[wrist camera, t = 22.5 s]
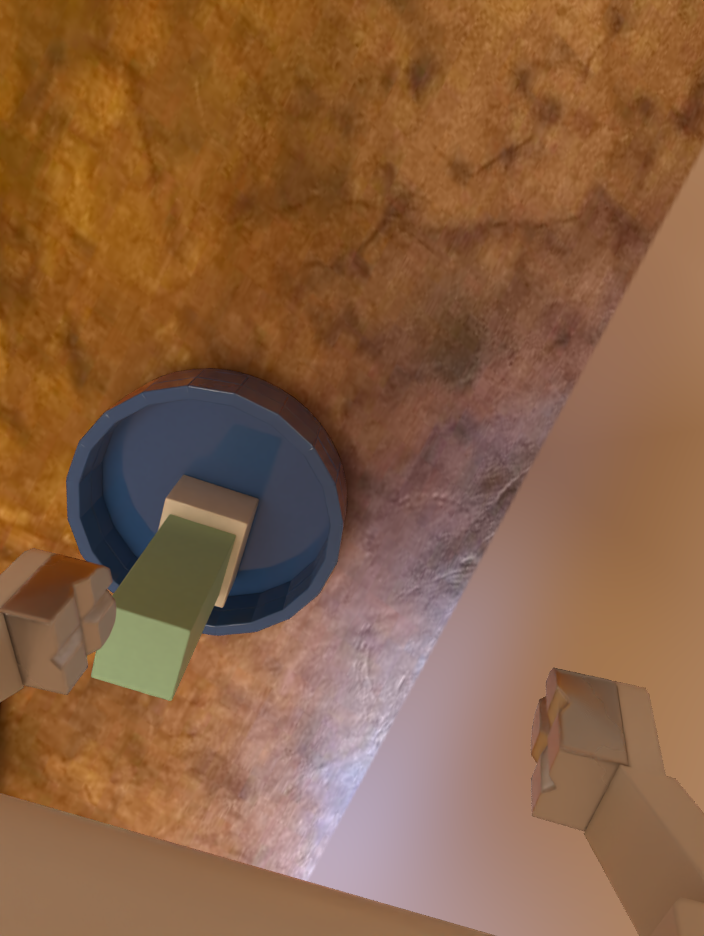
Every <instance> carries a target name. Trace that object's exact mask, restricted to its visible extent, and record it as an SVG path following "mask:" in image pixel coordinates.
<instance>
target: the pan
mask: <svg viewBox="0 0 704 936" xmlns="http://www.w3.org/2000/svg"><path fill="white" fill-rule="evenodd" d="M183 475H186V476H189V477H192V478H196V479H199V480H202V481H205V482H208V483H211V484H214V485H217V486H220V487H223V488H226V489H230V490H233V491H236V492H239V493H242V494H245V495H248V496H251V497H254V498H257V499H259V502H258V505H257V509H256V512H255V515H254V519H253V522H252V525H251V529H250V532H249V535H248V539H247V542H246V545H245V549H244V552H243V555H242V559H241V562H240V565H239V569H238V572H237V575H236V579H235V581H234V583H233V586H232V588H231V590H230V593H229V595H228V597H227V600H226V602H225V604H224V607H223V608H221V607H217V606H214V607H213V610H212V612H211V614H210V616H209V619H208V621H207V623H206V625H205V627H204V630H203V632H202V634H208V635H214V636H216V635H217V636H220V635H231V634H242V633H252V632H257V631H260V630H262V629H265V628H267V627H270V626H272V625H275V624H277V623H280V622H282V621H285V620H287V619H290V617H292V616H294V615H295V614H296V613H297V612H298V611H300V610H301V609H302V608H303V607H304V606H306V605H307V604H308V603H309V602H310V601H312V600H313V599H314V598H315V597H316V596H318V594H319V593H320V592H321V590H322V588H323V587H324V585H325V583H326V582H327V580H328V578H329V576H330V575H331V573H332V571H333V569H334V568H335V566H336V564H337V562H338V557H339V552H340V546H341V540H342V534H343V528H344V522H345V516H346V510H347V504H348V498H347V486H346V479H345V474H344V469H343V466H342V463H341V460H340V457H339V455H338V452H337V450H336V448H335V446H334V444H333V442H332V440H331V438H330V437H329V435H328V434H327V432H326V431H325V429H324V428H323V427H322V425H321V424H320V423H319V421H318V420H317V419H316V418H315V417H314V416H313V415H312V414H311V413H310V411H309V410H308V409H306V408H305V407H304V406H303V405H302V404H301V403H299V402H298V401H297V400H296V399H295V398H293V397H292V396H290V395H289V394H287V393H286V392H284V391H283V390H281V389H280V388H278V387H276V386H274V385H272V384H270V383H268V382H266V381H264V380H261V379H259V378H256V377H253V376H250V375H248V374H244V373H240V372H235V371H231V370H223V369H213V368H206V369H190V370H184V371H178V372H174V373H171V374H168V375H164V376H161V377H159V378H157V379H155V380H153V381H150V382H148V383H146V384H145V385H143V386H142V387H140V388H139V389H137V390H135V391H133V392H131V393H129V394H128V395H126V396H125V397H124V398H122V399H121V400H120V401H119V402H117V403H116V404H115V405H113V406H112V407H111V408H109V409H108V410H107V411H106V412H104V413H103V415H102V416H101V417H100V418H99V419H98V420H97V421H96V423H95V424H94V425H93V426H92V427H91V428H90V430H89V431H88V432H87V433H86V434H85V435H84V436H83V438H82V439H81V440H80V441H79V443H78V446H77V449H76V452H75V454H74V457H73V460H72V463H71V466H70V469H69V472H68V475H67V480H66V487H67V516H68V521H69V524H70V527H71V529H72V532H73V534H74V537H75V540H76V542H77V545H78V548H79V550H80V553H81V555H82V556H83V558H84V559H85V560H86V561H88V562H91V563H95V564H99V565H103V566H106V567H108V568H110V571H111V576H112V581H113V582H112V583H111V585H110V586H109V587H108V590H110V591H111V592H112V593H114V592H115V591H116V590H117V588H118V587H119V585H120V584H121V583H122V581H123V580H124V578H125V577H126V575H127V574H128V573H129V571H130V570H131V568H132V567H133V566H134V564H135V563H136V561H137V560H138V558H139V557H140V556H141V554H142V553H143V551H144V550H145V548H146V547H147V546H148V544H149V543H150V541H151V540H152V539H153V537H154V536H155V534H156V533H157V531H158V528H159V524H160V520H161V515H162V511H163V507H164V503H165V498H166V497H167V496H168V494H169V493H170V492H171V490H172V489H173V488H174V486H175V485H176V484H177V482H178V481H179V480H180V478H181V477H182V476H183Z"/></svg>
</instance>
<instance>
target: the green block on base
mask: <svg viewBox="0 0 704 936" xmlns="http://www.w3.org/2000/svg"><path fill="white" fill-rule="evenodd" d="M258 502H259V499H257V498H254V497H251V496H248V495H245V494H242V493H239V492H236V491H233V490H230V489H226V488H223V487H220V486H217V485H214V484H211V483H208V482H205V481H202V480H199V479H196V478H192V477H189V476H186V475H183V476H182V477H181V478H180V480H179V481H178V482H177V484H176V485H175V486H174V488H173V489H172V490H171V492H170V493H169V494H168V496H167V497H166V498H165V503H164V507H163V511H162V515H161V520H160V524H159V528H158V531H157V533H156V534H155V536H154V537H153V539H152V540H151V541H150V543H149V544H148V546H147V547H146V548H145V550H144V551H143V553H142V554H141V556H140V557H139V558H138V560H137V561H136V563H135V564H134V566H133V567H132V568H131V570H130V571H129V573H128V574H127V575H126V577H125V578H124V580H123V581H122V583H121V584H120V585H119V587H118V588H117V590H116V591H115V592H114V594H113V595H112V596H113V597H114V599H115V601H116V609H117V610H116V619H115V623H114V626H113V628H112V631H111V634H110V636H109V638H108V639H107V641H106V642H105V643H104V645H103V646H102V648H101V649H99V650H97V651H96V654H95V659H94V664H93V669H92V674H91V677H93V678H96V679H99V680H102V681H106V682H109V683H112V684H116V685H119V686H122V687H126V688H129V689H132V690H136V691H139V692H142V693H146V694H149V695H152V696H156V697H159V698H162V699H166V700H169V701H171V700H172V699H173V697H174V695H175V692H176V690H177V688H178V686H179V683H180V681H181V679H182V677H183V674H184V672H185V670H186V668H187V665H188V663H189V661H190V659H191V657H192V654H193V652H194V650H195V648H196V645H197V643H198V641H199V639H200V636H201V634H202V632H203V630H204V627H205V625H206V623H207V621H208V619H209V616H210V614H211V612H212V610H213V607H214V606H217V607H221V608H223V607H224V604H225V602H226V600H227V597H228V595H229V593H230V590H231V588H232V586H233V583H234V581H235V579H236V575H237V572H238V569H239V565H240V562H241V559H242V555H243V552H244V549H245V545H246V542H247V539H248V535H249V532H250V529H251V525H252V522H253V519H254V515H255V512H256V509H257V505H258Z"/></svg>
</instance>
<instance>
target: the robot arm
mask: <svg viewBox="0 0 704 936" xmlns="http://www.w3.org/2000/svg"><path fill="white" fill-rule="evenodd" d="M112 582H113V581H112V576H111V571H110V568H108V567H106V566H103V565H99V564H95V563H91V562H88V561H84V560H80V559H76V558H72V557H68V556H64V555H60V554H55V553H51V552H47V551H43V550H39V549H35V548H33V549H30V550H27V551H25V552H24V553H22V554H21V555H20V556H19V557H18V558H17V559H16V560H15V561H14V562H13V563H12V564H11V565H10V566H9V567H8V568H7V569H6V570H5V571H4V572H3V573H2V574H1V575H0V702H2V701H3V700H5V699H6V698H8V697H10V696H11V695H13V694H14V693H16V692H18V691H19V690H21V689H23V687H24V686H23V685H25V686H30V687H34V688H38V689H43V690H47V691H51V692H56V693H60V694H65V695H67V694H68V693H69V692H70V690H71V689H72V688H73V686H74V685H75V684H76V682H77V681H78V679H79V678H80V677H81V675H82V674H83V673H84V671H85V670H86V669H87V667H88V663H87V655H89V654H91V653H93V652H95V651H97V650H99V649H101V648H102V646H103V645H104V643H105V642H106V641H107V639H108V638H109V636H110V634H111V631H112V628H113V626H114V623H115V619H116V610H117V609H116V601H115V599H114V597H113V596H112V595H111V594H110V593H109V591H108V590H107V589H108V587H109V586H110V585H111V583H112ZM531 755H532V756H533V758H534V760H535V761H536V763H537V765H536V768H535V770H534V773H533V776H532V779H531V787H532V788H531V790H532V816H533V817H537V818H540V819H543V820H547V821H550V822H554V823H557V824H561V825H564V826H568V827H571V828H575V829H578V830H582V831H585V833H584V835H585V837H586V839H587V840H588V842H589V844H590V846H591V848H592V850H593V852H594V853H595V855H596V857H597V859H598V861H599V862H600V864H601V866H602V868H603V870H604V872H605V874H606V875H607V877H608V879H609V881H610V883H611V885H612V886H613V888H614V890H615V892H616V894H617V895H618V898H619V899H620V901H621V903H622V905H623V907H624V908H625V910H626V912H627V914H628V916H629V918H630V920H631V921H632V923H633V925H634V927H635V929H636V931H637V932H638V934H639V936H704V813H703V812H702V810H701V809H700V808H699V807H698V806H697V804H696V803H695V802H694V801H693V799H692V798H691V797H690V796H689V795H688V793H687V792H686V791H685V790H684V789H683V787H682V786H681V785H680V783H679V782H678V781H677V780H676V779H675V778H672V777H668V776H666V775H665V770H664V765H663V760H662V755H661V750H660V745H659V740H658V735H657V730H656V725H655V721H654V715H653V711H652V706H651V701H650V696H649V693H648V691H647V690H646V688H643V687H639V686H635V685H630V684H625V683H621V682H616V681H611V680H608V679H603V678H598V677H594V676H589V675H585V674H580V673H576V672H570V671H566V670H562V669H557V668H553V669H552V670H551V671H550V673H549V676H548V678H547V681H546V696H545V697H543V698H542V699H540V700H539V703H538V706H537V709H536V712H535V717H534V722H533V726H532V737H531ZM0 936H495V935H492V934H488V933H485V932H481V931H478V930H474V929H471V928H467V927H464V926H460V925H457V924H454V923H450V922H447V921H443V920H440V919H436V918H433V917H429V916H426V915H422V914H419V913H415V912H411V911H408V910H405V909H401V908H398V907H394V906H391V905H388V904H384V903H380V902H377V901H374V900H370V899H367V898H363V897H360V896H356V895H353V894H349V893H346V892H342V891H339V890H335V889H332V888H328V887H325V886H321V885H318V884H315V883H311V882H308V881H304V880H301V879H297V878H294V877H290V876H287V875H283V874H280V873H276V872H273V871H269V870H266V869H262V868H259V867H256V866H252V865H249V864H245V863H242V862H238V861H235V860H231V859H228V858H224V857H221V856H217V855H214V854H210V853H207V852H203V851H200V850H196V849H193V848H189V847H186V846H182V845H179V844H175V843H172V842H168V841H165V840H161V839H158V838H154V837H151V836H147V835H144V834H140V833H137V832H133V831H130V830H126V829H123V828H119V827H116V826H112V825H109V824H106V823H102V822H99V821H95V820H92V819H88V818H85V817H81V816H78V815H74V814H71V813H67V812H64V811H60V810H57V809H53V808H50V807H46V806H43V805H40V804H36V803H33V802H29V801H26V800H22V799H19V798H15V797H12V796H8V795H5V794H1V793H0Z"/></svg>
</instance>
